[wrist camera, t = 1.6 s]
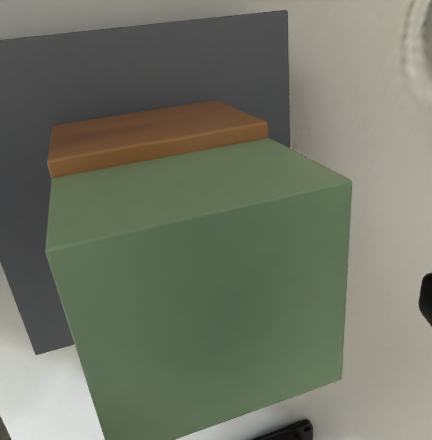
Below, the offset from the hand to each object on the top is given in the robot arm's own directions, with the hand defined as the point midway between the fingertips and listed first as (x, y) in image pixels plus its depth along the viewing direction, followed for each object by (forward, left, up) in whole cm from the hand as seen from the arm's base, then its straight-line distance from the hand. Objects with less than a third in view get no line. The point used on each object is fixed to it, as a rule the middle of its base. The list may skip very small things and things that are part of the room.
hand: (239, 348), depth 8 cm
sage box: (0, 0, -5) cm, 5 cm away
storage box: (0, 0, -13) cm, 13 cm away
